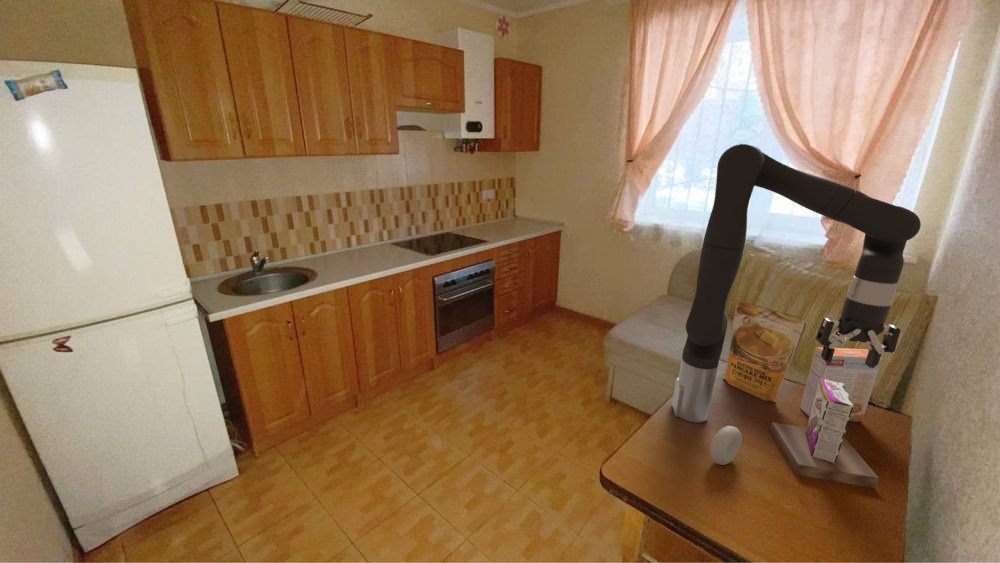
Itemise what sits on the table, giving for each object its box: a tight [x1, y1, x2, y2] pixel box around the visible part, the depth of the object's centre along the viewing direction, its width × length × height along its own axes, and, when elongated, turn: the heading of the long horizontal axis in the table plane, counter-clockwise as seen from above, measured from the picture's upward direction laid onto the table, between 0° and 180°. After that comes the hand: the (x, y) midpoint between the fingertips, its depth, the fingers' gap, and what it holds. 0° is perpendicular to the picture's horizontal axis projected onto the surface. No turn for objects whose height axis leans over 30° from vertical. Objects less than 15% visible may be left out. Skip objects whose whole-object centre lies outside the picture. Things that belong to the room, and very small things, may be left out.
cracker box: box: [799, 346, 883, 423], centre depth 113 cm, size 14×6×21 cm, turn 84°
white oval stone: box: [709, 425, 743, 466], centre depth 97 cm, size 10×4×10 cm, turn 120°
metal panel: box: [769, 421, 880, 489], centre depth 100 cm, size 16×16×3 cm
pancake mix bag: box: [722, 301, 807, 403], centre depth 125 cm, size 7×19×28 cm, turn 34°
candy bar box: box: [806, 378, 854, 464], centre depth 97 cm, size 11×5×16 cm, turn 150°
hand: (847, 363), depth 92 cm, fingers open, 8 cm apart
